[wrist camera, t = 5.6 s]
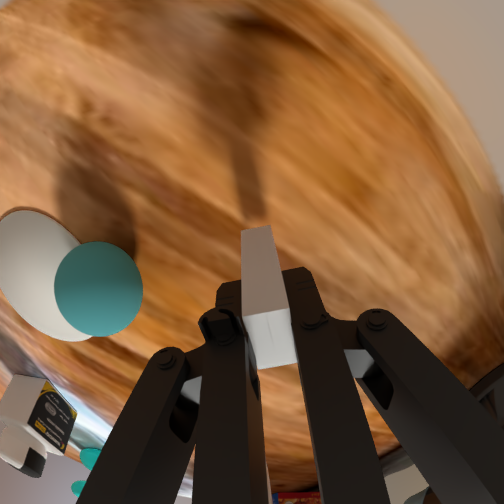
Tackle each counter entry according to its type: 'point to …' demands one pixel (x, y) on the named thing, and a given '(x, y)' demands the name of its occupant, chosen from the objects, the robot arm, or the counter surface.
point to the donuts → (88, 459)
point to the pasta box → (296, 498)
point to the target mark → (35, 270)
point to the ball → (98, 288)
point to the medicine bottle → (33, 423)
